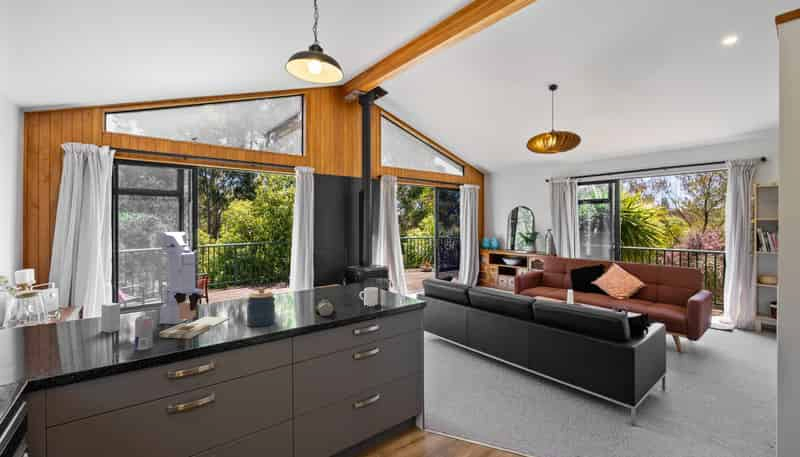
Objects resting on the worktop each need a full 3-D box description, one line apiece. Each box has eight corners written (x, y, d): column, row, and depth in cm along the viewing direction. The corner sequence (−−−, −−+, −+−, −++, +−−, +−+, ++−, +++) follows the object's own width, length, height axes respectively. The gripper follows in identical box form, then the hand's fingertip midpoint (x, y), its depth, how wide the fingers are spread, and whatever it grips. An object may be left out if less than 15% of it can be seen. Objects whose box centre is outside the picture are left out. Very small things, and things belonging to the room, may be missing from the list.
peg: (179, 318, 149) (179, 303, 149) (186, 315, 154) (186, 300, 154) (188, 319, 149) (188, 303, 149) (195, 316, 154) (195, 301, 153)
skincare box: (120, 330, 153) (120, 303, 152) (110, 333, 148) (109, 305, 148) (111, 328, 155) (111, 302, 154) (100, 331, 150) (100, 304, 150)
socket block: (159, 337, 144) (159, 332, 144) (182, 327, 158) (182, 322, 158) (189, 338, 143) (189, 333, 143) (210, 328, 157) (210, 324, 157)
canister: (241, 323, 165) (242, 287, 165) (267, 318, 175) (268, 284, 174) (253, 329, 156) (253, 291, 156) (280, 323, 166) (280, 287, 165)
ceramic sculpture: (316, 301, 176) (313, 296, 190) (316, 317, 176) (313, 312, 190) (336, 300, 180) (332, 295, 194) (336, 316, 179) (332, 311, 193)
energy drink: (141, 345, 134) (141, 315, 134) (155, 345, 135) (155, 315, 135) (131, 351, 129) (131, 319, 129) (146, 350, 130) (146, 319, 129)
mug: (356, 305, 204) (356, 288, 204) (373, 302, 211) (373, 286, 211) (362, 307, 198) (362, 291, 197) (380, 305, 205) (380, 289, 204)
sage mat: (187, 325, 161) (187, 324, 161) (205, 317, 174) (205, 316, 174) (213, 326, 160) (213, 325, 160) (229, 318, 173) (229, 317, 172)
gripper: (165, 280, 148) (165, 311, 148) (196, 281, 146) (196, 313, 147) (177, 277, 155) (177, 307, 155) (207, 278, 154) (207, 308, 154)
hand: (187, 309), depth 151 cm, fingers closed on peg, 4 cm apart
